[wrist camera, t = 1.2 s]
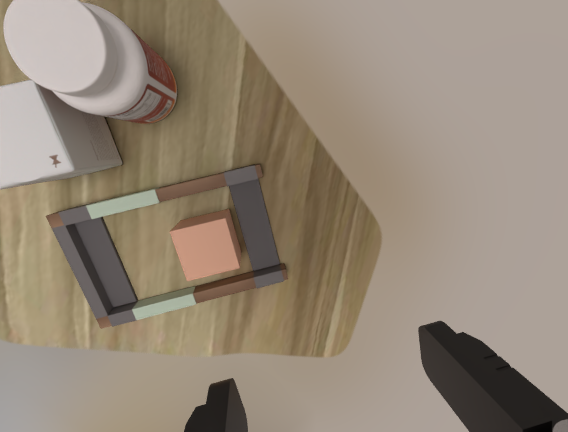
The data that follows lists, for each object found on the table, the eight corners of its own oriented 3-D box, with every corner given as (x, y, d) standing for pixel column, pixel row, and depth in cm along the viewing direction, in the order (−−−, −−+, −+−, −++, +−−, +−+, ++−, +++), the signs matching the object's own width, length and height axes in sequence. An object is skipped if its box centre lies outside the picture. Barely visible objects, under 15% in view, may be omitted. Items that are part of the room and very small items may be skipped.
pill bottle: (108, 40, 23) (-19, -55, 12) (183, 61, 24) (126, -11, 13) (103, 115, 24) (-16, 89, 13) (174, 132, 25) (115, 120, 14)
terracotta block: (181, 219, 27) (169, 231, 23) (229, 208, 28) (225, 218, 24) (195, 263, 29) (187, 281, 25) (241, 252, 29) (239, 267, 25)
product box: (99, 97, 24) (34, 76, 17) (125, 165, 25) (76, 172, 18) (29, 113, 23) (-68, 98, 16) (60, 180, 25) (-16, 193, 18)
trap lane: (57, 211, 26) (44, 215, 24) (259, 163, 27) (259, 164, 25) (108, 319, 29) (100, 329, 27) (286, 273, 30) (288, 279, 28)
